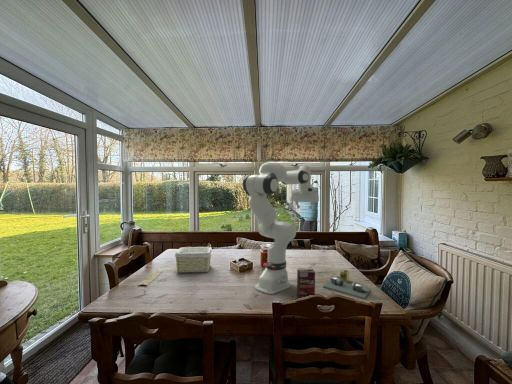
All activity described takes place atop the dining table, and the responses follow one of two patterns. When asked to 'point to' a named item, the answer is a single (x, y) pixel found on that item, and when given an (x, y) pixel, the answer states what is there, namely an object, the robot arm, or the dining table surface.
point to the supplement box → (305, 282)
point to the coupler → (344, 275)
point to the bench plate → (346, 289)
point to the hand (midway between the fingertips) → (304, 208)
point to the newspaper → (151, 277)
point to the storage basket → (193, 259)
